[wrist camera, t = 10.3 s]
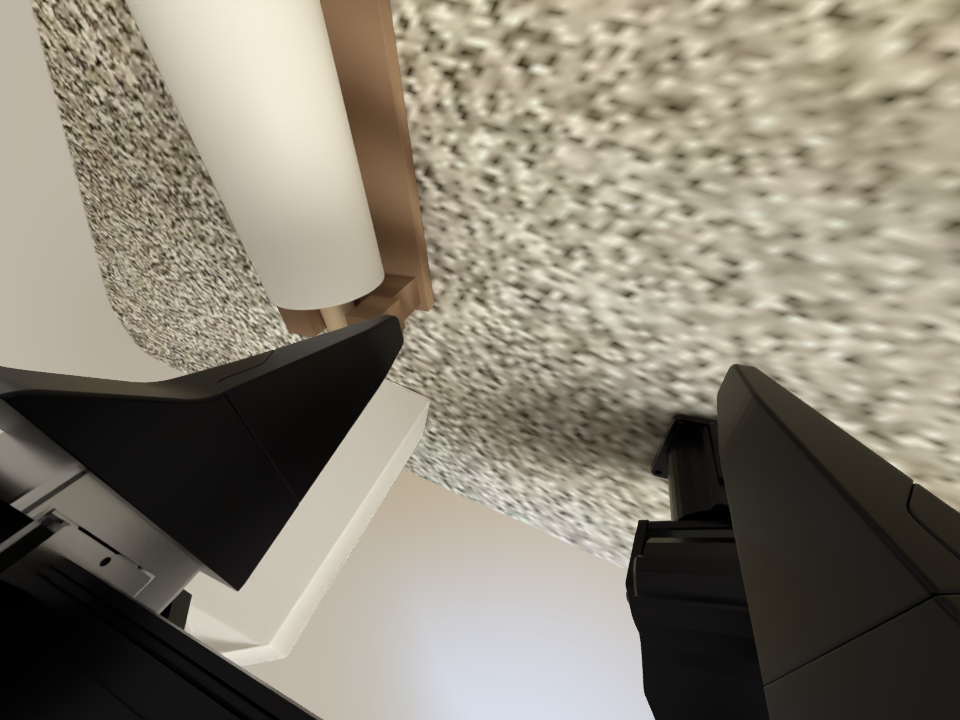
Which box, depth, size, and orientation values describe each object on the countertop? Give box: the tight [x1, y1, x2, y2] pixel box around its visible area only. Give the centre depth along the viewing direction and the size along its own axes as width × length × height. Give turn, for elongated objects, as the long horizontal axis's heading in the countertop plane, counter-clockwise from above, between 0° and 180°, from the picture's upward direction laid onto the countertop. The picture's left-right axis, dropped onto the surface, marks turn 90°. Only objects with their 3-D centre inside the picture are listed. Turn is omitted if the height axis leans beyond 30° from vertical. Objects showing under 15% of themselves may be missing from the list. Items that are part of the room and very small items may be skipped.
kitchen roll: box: [125, 0, 385, 332], centre depth 15 cm, size 22×6×6 cm, turn 3°
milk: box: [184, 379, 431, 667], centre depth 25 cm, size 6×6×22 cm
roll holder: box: [277, 0, 434, 337], centre depth 16 cm, size 22×7×6 cm, turn 3°
